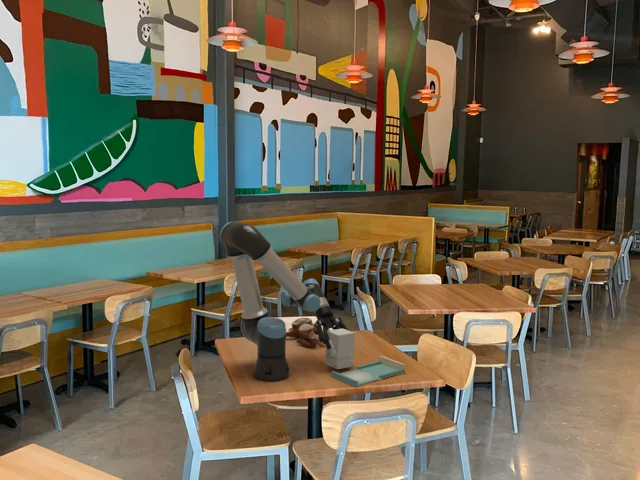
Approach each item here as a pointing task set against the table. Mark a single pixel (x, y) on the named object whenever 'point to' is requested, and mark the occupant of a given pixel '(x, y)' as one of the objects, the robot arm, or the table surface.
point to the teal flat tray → (371, 372)
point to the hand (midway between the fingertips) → (343, 353)
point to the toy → (304, 331)
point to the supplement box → (341, 348)
